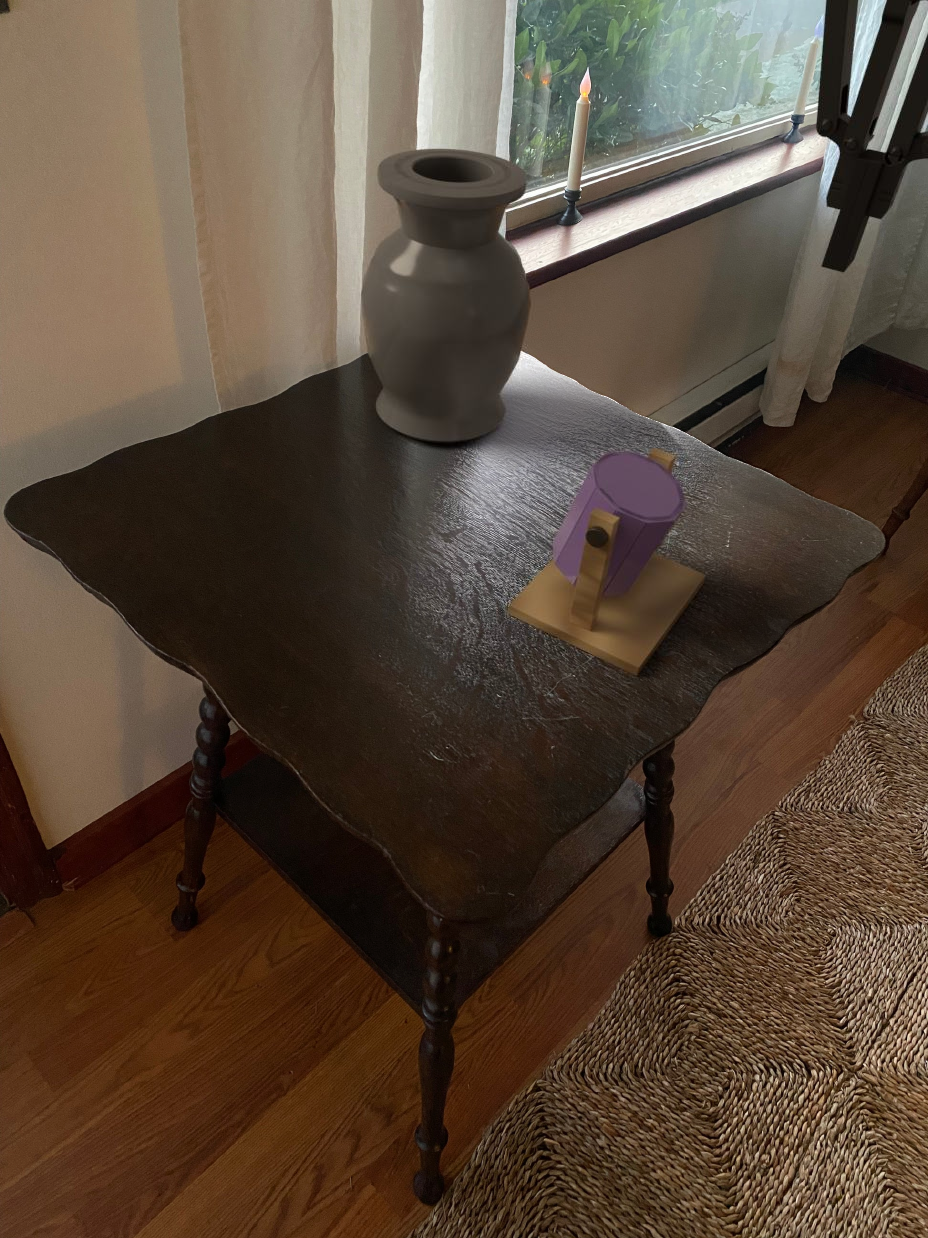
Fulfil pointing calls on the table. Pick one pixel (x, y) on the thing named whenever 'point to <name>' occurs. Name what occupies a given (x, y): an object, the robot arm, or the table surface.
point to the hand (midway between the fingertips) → (837, 262)
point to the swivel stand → (610, 598)
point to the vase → (446, 294)
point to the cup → (621, 516)
